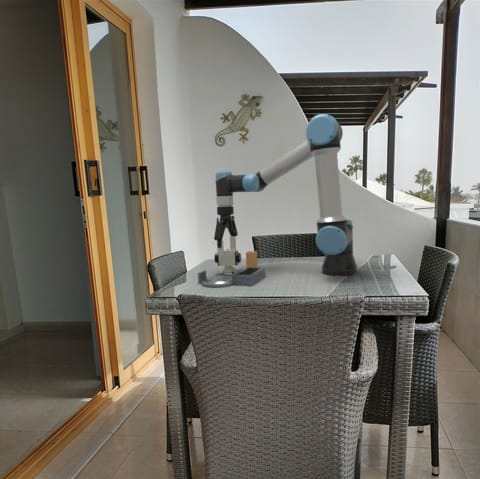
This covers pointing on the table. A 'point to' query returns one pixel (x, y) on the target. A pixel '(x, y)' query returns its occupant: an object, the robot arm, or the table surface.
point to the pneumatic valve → (228, 261)
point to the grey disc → (216, 280)
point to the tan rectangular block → (251, 259)
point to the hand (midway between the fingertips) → (227, 252)
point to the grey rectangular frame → (249, 276)
